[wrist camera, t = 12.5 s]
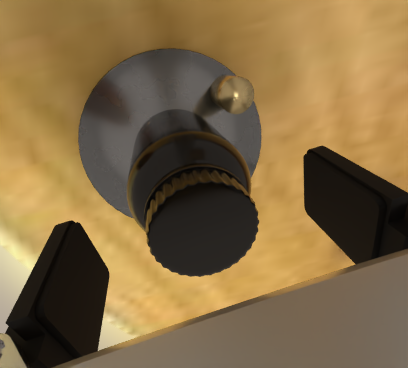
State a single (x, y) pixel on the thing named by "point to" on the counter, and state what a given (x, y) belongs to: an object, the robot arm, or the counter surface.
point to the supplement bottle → (191, 194)
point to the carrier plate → (157, 102)
